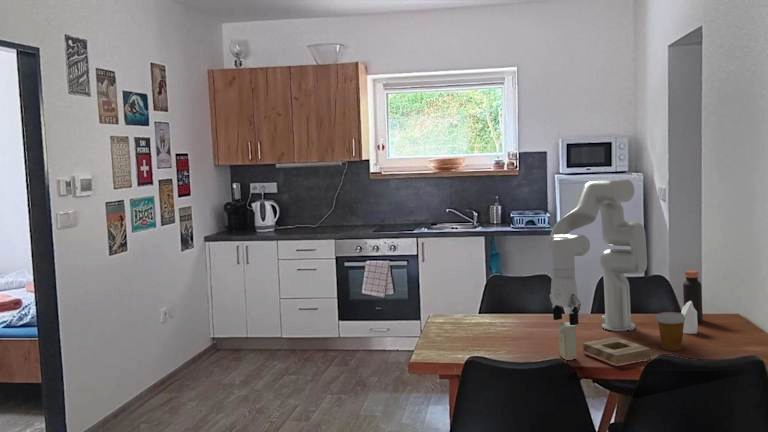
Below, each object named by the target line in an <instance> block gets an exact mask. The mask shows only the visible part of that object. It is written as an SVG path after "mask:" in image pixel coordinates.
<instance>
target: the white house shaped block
mask: <svg viewBox="0 0 768 432" xmlns="http://www.w3.org/2000/svg"><path fill="white" fill-rule="evenodd" d="M680 313H682V314H683V315H684V317H685V321H684V328H683V334H690V335H693V334H698V323H699V322H697V311H696V310H695V308H694V307H693V303H692V301H688V302H687V303H686V304H685V305H684V304H683V306H682V308H681V312H680Z"/></svg>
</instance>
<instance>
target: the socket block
mask: <svg viewBox="0 0 768 432" xmlns="http://www.w3.org/2000/svg"><path fill="white" fill-rule="evenodd" d="M582 347H583V350H582V351H583V352H584V351H585V352H588V353H590V354H593V355H596V356H598V357H601V358H603V359H605V360H608V361H610V362H613V363H615V364H619V363H625V362H632V361H639V360H645V359H647V360H648V359H651V360H652V355H651V354H652V353H651V352H652V350H651V348H650V347H647V346H645V345H641V344H639V343H636V342H632V341H629V340H627V339H623V338H621V337H617V336H615V337H613V336H612V337H608V338H604V339H598V340H592V341H588V342H583V343H582Z"/></svg>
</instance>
